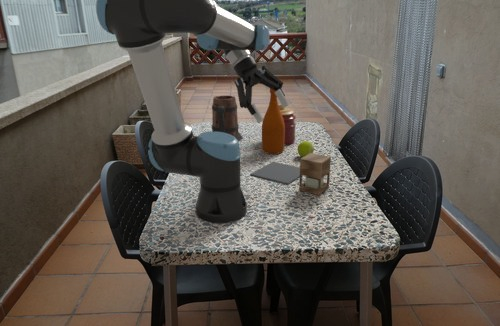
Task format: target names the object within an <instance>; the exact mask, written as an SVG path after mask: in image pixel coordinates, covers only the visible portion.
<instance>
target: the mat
mask: <svg viewBox="0 0 500 326" xmlns="http://www.w3.org/2000/svg"><path fill="white" fill-rule="evenodd" d="M250 176H252V177H256V178H260V179H264V180H268V181H272V182H277V183H281V184H284V185H287V186H289V185H291V183H293V182H294V181H296V180H298V179H300V166H295V165H289V164H285V163H280V162H277V161H276V162H275V161H271V162H270V163H268V164H266V165H264V166H262V167H260V168H259V169H257V170H255V171H253V172H251V173H250Z"/></svg>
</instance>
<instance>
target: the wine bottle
mask: <svg viewBox="0 0 500 326" xmlns="http://www.w3.org/2000/svg"><path fill="white" fill-rule="evenodd" d="M275 92H276V91H275V90H273V89H271V88H269V94H270V96H269V97H270V98H269V103H268V107H267V110H266V112H265V113H264V117H263V119H264V120H263V121H262V123H261V149H262V151H263V152H264V153H265V154H269V155H275V154H281V153H283V152H284V150H285V145H284V141H285V124H284V120H283V117H282V114H281V112H280V104H279V102H278V98H277V96H276V94H275Z"/></svg>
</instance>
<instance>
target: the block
mask: <svg viewBox="0 0 500 326" xmlns="http://www.w3.org/2000/svg"><path fill="white" fill-rule="evenodd" d="M324 178H325V176H324V177H323V178H321V188H322V187H323V182H325V180H324ZM318 180H319V179H317V178H313V177H308V176H305V181H304V182H305V186H306V187H310V188H314V189H318Z"/></svg>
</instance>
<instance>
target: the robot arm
mask: <svg viewBox="0 0 500 326" xmlns="http://www.w3.org/2000/svg"><path fill="white" fill-rule="evenodd" d="M95 6H96V7H95V8H96V9H95V12H96V15H97V16H96V17H97V21H98V22H99V25H100V26H101V28H102V29H103V31H106V32H107V33H108V34H111V35H115V39H116V42H117V44H118V47H119V48H121V49H123V50H125V51H127V53H128V56H129V59H130V62H131V65H132V68H133V71H134V74H135V77H136V80H137V83H138V86H139V89H140V92H141V95H142V98H143V100H144V103H145V106H146V110H147V111H148V115H149V118H150V122H151V123H152V127H153V129H154V130H153V131H152V134H151V138H150V140H149V143H148V146H147V147H148V148H149V149H148V151H147V153H148V158H149V161H150V163H151V164H152V165H153V167H154V168H156V169H157V170H158V171H162V172H165V173H168V174H175V175H185V176H190V177H191V176H192V177H197V178H199V182H200V183H199V184H200V187H199V188H200V189H199V192H198V196H197V199H196V203H195V215H196V216H197V218H199V220H202V221H204V222H208V223H212V224H225V223H231V222H235V221H238V220H240V219H243V217H245V216H246V214H247V212H248V209H247V208H248V205H247V201H246V198H245V195H244V193H243V189H242V187H241V151H240V149H241V148H240V147H241V146H240V141H238V140H237V139H236V138H235V137H234V136H232V135H230V134H227V133H223V132H212V130H211V131H203V132H201V133H199V134H198V136H197V135H194V133H193V129H192V126H191V125H190V124H189V123H188V122H185V120H184V116H183V112H182V110H181V106H180V103H179V99H178V95H177V92H176V88H175V83H174V81H173V77H172V74H171V70H170V67H169V64H168V63H169V62H168V60H167V56H166V52H165V50H164V49H165V48H164V45H163V42H164V40H165V38H166V37H167V34H191V35H194V36H196V41H197V45H198V46H199V47H200V48H201V49H203V50H205V51H215V50H216V51H218V50H219V51H220V50H221V51H222V52H223V53H224V55H225V57H226V58H227V60H228V61H229V63H230V65H231V66H232V67H233V70H234V71H235V73H236V75H237V76H238V78H236V79H235V80H234V85H235V86H236V90H237V95H238V96H237V97H238V102H239V107H240V108H241V109H242V108H244V109H246V110H247V111H248V112H249V114H250V115H251V116H253V117H254V119H255V121H256V122H257V123H258V124H260V123H261V122H263V120H264V117H263V116H262V113H261V112H260V111H259V109H258V108H257V106H256V105H255V103H252V96H253V95H252V93H253V87H254V86H256V85H258V84H260V85H263V86H265V87H267V88H269V89H270V88H271V89H273V90H275V91H276V92H275V94H276V96H277V100H278V101H279V103H280V105H281V104H282V106H283V108H287V107H288V106H289V105H290V103H289V101H288V100H287V98H286V94H285V93H284V91H283V90H282V87H283V85H284V82H283V81H282V80H280V79H279V78H278V77H277V76H276V75H274V74H273V73H272V72H271V71H270V70H269V69H268V68H267V67H266V66H265V65H262V66H261V67H260V68H258V66H257V63H256V61H255V59H254V57H253V56H252V55H251V52H250V51H255V52H257V51H265V50H267V48H268V47H269V44H270V31H269V27H268V26H267V25H265V24H259V23H258V24H252V23H249V22H248V21H246V20H245V19H243V18H241V17H239V16H237V15H236V14H234V13H232V12H230V11H228V10H226V9H225V8H223V7H221V6H219V5H217V4H216V1H215V0H96V4H95Z"/></svg>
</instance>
